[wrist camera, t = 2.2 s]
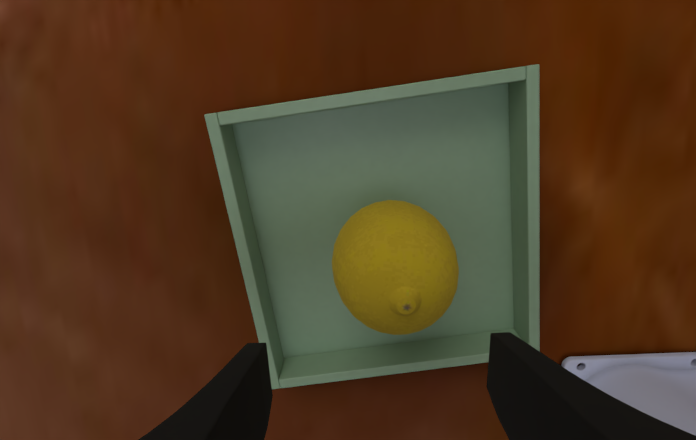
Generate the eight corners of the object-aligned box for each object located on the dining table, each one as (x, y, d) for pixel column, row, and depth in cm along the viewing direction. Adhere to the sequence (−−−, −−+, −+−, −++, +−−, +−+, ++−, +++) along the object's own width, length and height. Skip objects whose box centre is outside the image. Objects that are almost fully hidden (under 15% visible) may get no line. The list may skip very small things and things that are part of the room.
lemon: (328, 273, 22) (319, 364, 14) (341, 178, 20) (340, 222, 12) (423, 285, 22) (465, 381, 14) (443, 193, 20) (503, 244, 13)
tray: (516, 69, 19) (540, 63, 17) (520, 331, 23) (540, 356, 21) (220, 113, 20) (203, 114, 17) (277, 362, 24) (270, 389, 21)
